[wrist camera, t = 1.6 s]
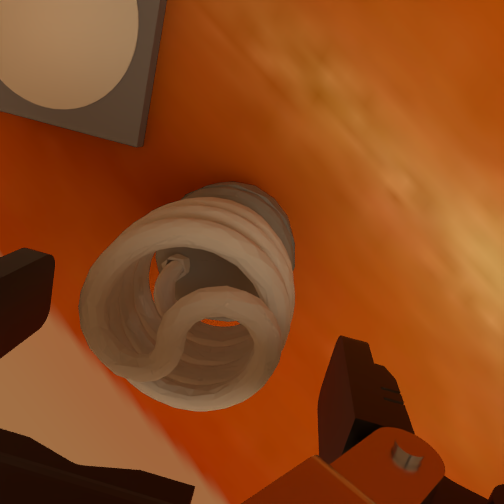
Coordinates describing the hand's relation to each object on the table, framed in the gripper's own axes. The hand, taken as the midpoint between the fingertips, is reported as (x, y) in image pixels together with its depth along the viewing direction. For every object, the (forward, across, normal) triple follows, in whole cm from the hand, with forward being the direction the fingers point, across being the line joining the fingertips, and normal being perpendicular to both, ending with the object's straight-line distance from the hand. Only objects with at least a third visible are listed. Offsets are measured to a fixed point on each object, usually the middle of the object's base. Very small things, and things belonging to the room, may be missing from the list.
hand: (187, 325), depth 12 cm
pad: (+10, +10, -8) cm, 16 cm away
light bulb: (+10, 0, 0) cm, 10 cm away
